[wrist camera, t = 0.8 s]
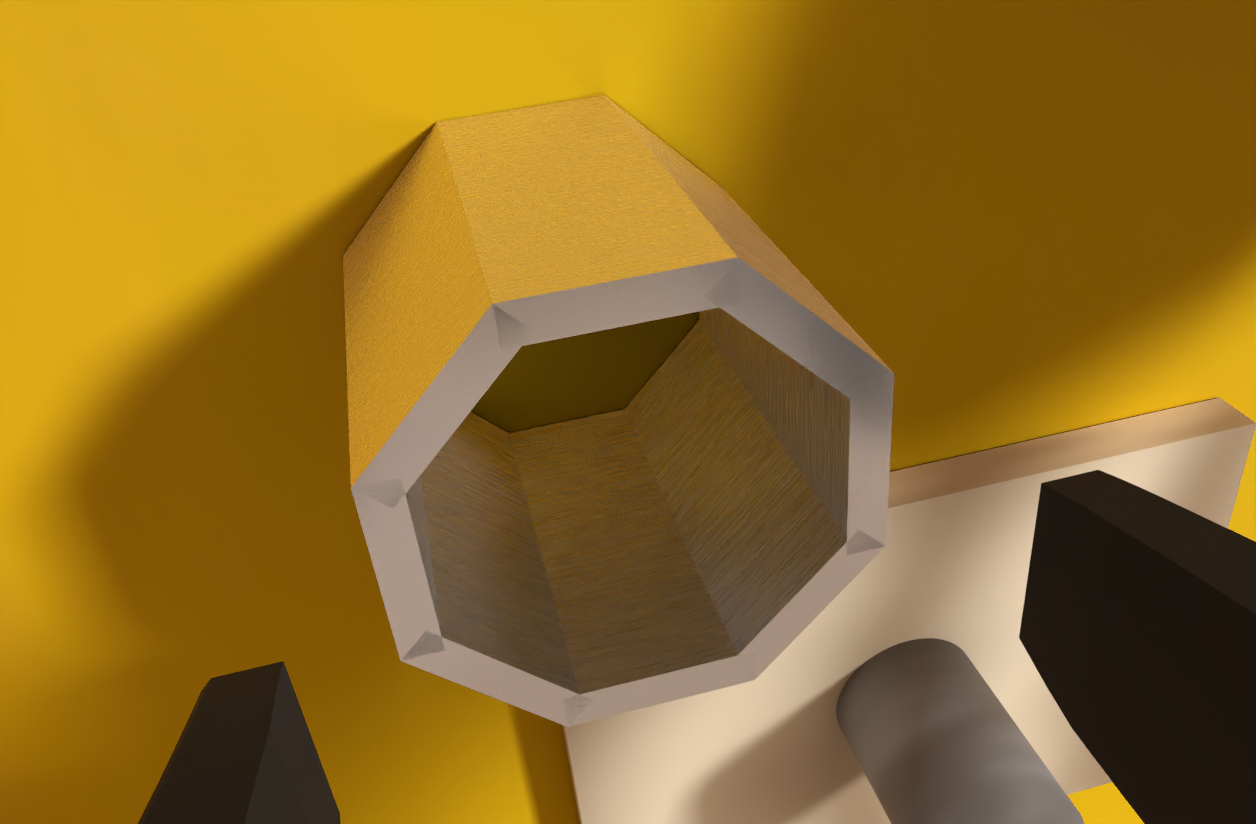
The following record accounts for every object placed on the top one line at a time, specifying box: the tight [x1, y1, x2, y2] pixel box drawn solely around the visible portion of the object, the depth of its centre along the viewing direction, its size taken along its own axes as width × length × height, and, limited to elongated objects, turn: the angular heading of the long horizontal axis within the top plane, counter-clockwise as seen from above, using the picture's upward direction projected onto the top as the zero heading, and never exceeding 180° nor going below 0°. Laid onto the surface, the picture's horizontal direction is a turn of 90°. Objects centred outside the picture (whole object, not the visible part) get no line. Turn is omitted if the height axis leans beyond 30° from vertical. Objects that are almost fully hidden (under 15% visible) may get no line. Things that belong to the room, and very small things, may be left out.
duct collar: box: [343, 95, 894, 727], centre depth 14 cm, size 6×6×6 cm
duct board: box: [562, 398, 1256, 824], centre depth 21 cm, size 14×10×5 cm
